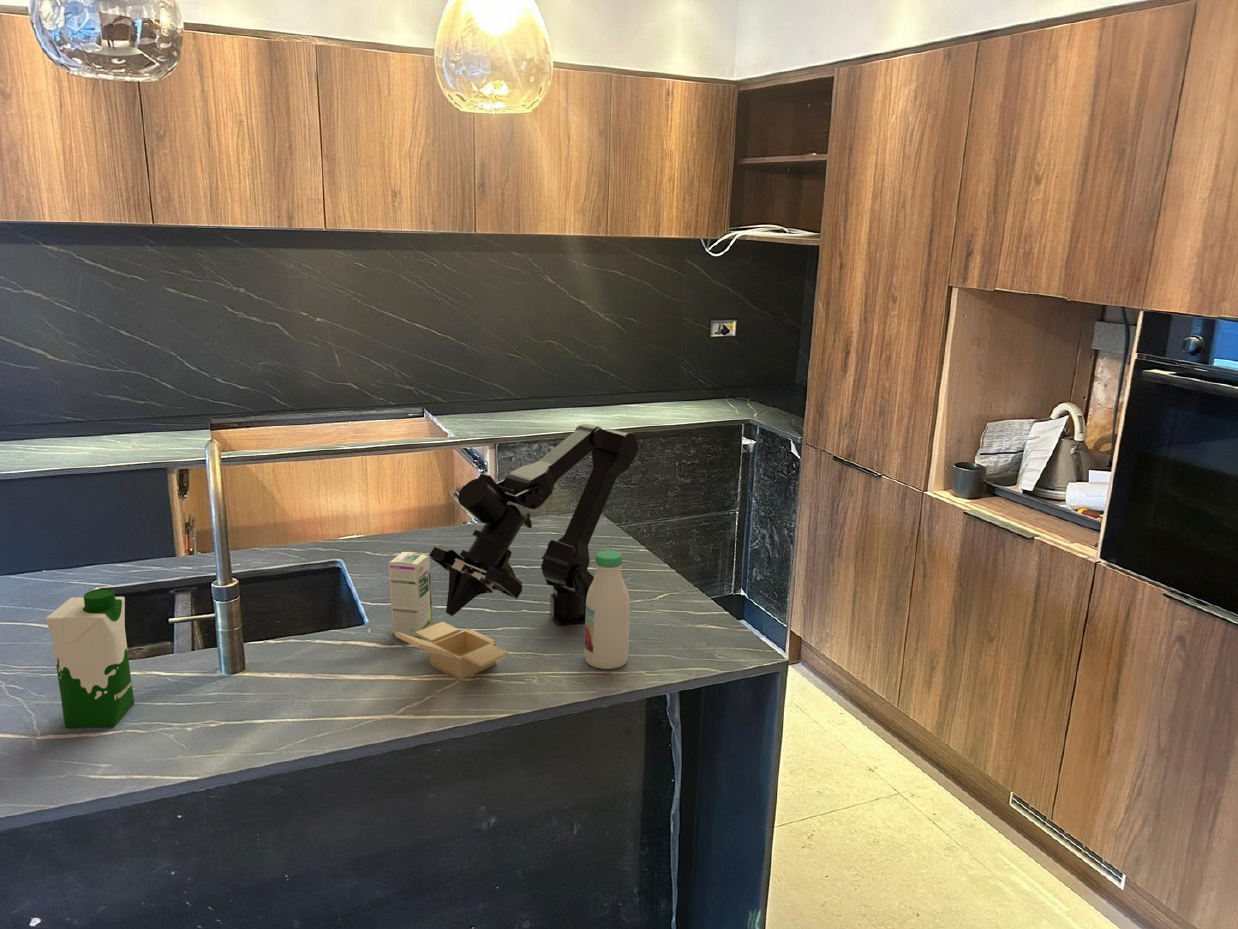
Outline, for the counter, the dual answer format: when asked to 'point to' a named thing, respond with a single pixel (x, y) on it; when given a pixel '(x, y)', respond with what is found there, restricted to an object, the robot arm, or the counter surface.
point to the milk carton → (92, 659)
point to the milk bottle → (607, 614)
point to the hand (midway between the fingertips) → (449, 614)
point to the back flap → (424, 644)
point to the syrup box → (410, 593)
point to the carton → (461, 650)
